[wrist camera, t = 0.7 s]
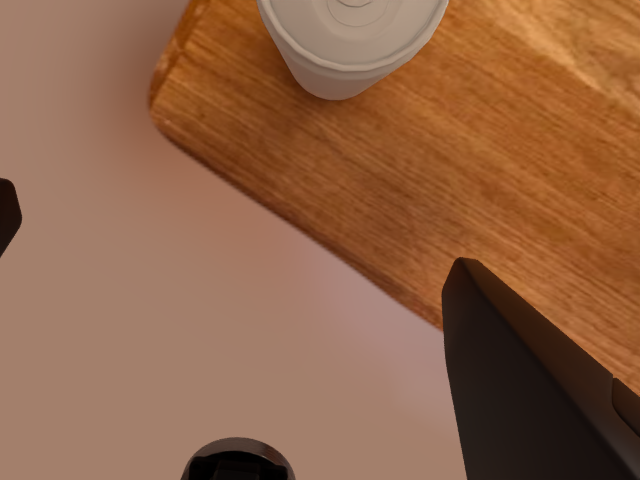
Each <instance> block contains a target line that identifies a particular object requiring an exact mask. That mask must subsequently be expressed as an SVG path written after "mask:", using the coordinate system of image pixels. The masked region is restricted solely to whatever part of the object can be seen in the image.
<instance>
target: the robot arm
mask: <svg viewBox="0 0 640 480" xmlns="http://www.w3.org/2000/svg"><path fill="white" fill-rule="evenodd" d="M21 222H22V214H21V210H20V206H19V202H18V198H17V194H16V190H15V187H14V185H13V183H12V182H11V181H9V180H7V179H3V178H0V257H1V256H2V254H3V253H4V251H5V250H6V248H7V246H8V245H9V243H10V242H11V240H12V239H13V237H14V236H15V234H16V232H17V231H18V229H19V228H20V225H21ZM442 314H443V331H444V346H445V359H446V366H447V373H448V378H449V382H450V388H451V394H452V400H453V405H454V410H455V415H456V421H457V426H458V432H459V437H460V443H461V448H462V454H463V459H464V464H465V470H466V475H467V480H640V397H639V396H638V395H636V394H635V393H634V392H633V391H632V390H630V389H629V388H628V387H627V386H626V385H625V384H623V383H622V382H621V381H620V380H619V379H618V378H613V375H612V373H610V372H609V371H608V370H607V369H606V368H604V367H603V366H602V365H601V364H600V363H599V362H597V361H596V360H595V359H594V358H593V357H591V356H590V355H589V354H588V353H587V352H586V351H584V350H583V349H582V348H581V347H580V346H578V345H577V344H576V343H575V342H574V341H573V340H571V339H570V338H569V337H568V336H567V335H565V334H564V333H563V332H562V331H561V330H560V329H558V328H557V327H556V326H555V325H554V324H552V323H551V322H550V321H549V320H548V319H547V318H545V317H544V316H543V315H542V314H541V313H540V312H538V311H537V310H536V309H535V308H534V307H532V306H531V305H530V304H529V303H528V302H527V301H525V300H524V299H523V298H522V297H521V296H519V295H518V294H517V293H516V292H515V291H514V290H512V289H511V288H510V287H509V286H508V285H506V284H505V283H504V282H503V281H502V280H501V279H499V278H498V277H497V276H496V275H495V274H493V273H492V272H491V271H490V270H489V269H488V268H486V267H485V266H484V265H483V264H482V263H480V262H479V261H478V260H475V259H469V258H463V257H459V258H457V259H456V260H455V261H454V263H453V265H452V268H451V270H450V272H449V275H448V277H447V279H446V282H445V284H444V286H443V290H442ZM196 464H199V466H198V465H196ZM278 473H283V474H282V475H280V474H278ZM287 479H288V469H287V468H286V467H285V466H282V465H274V464H265V463H257V462H248V461H239V460H230V459H221V458H212V457H203V456H196V457H193V459H192V460H191V463H190V466H189V478H188V480H287Z"/></svg>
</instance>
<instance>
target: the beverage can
mask: <svg viewBox="0 0 640 480" xmlns="http://www.w3.org/2000/svg"><path fill="white" fill-rule="evenodd" d="M256 2H257V5H258V8H259V12H260V15H261V18H262V21H263V23H264V25H265V26H266V28H267V30H268V32H269V33H270V35H271V37H272V39H273V41H274V42H275V44H276V46H277V48H278V50H279V51H280V53H281V55H282V57H283V59H284V60H285V62H286V64H287V66H288V68H289V69H290V71H291V73H292V74H293V76H294V78H295V80H296V81H297V82H298V83H299V84H300V85H301V86H302V87H303V88H304V89H305V90H306V91H308V92H309V93H311V94H313V95H315V96H316V97H319V98H323V99H327V100H344V99H347V98H351V97H354V96H356V95H358V94H359V93H361V92H363V91H364V90H366V89H367V88H369V87H370V86H372V85H373V84H375V83H376V82H378V81H379V80H381V79H382V78H384V77H385V76H387V75H388V74H390V73H391V72H393V71H394V70H396V69H397V68H399V67H400V66H402V65H403V64H405V63H406V62H408V61H409V60H411V59H412V58H413V57H414V56H415V55H416V53H417V52H418V51H419V50H420V49H421V48H422V47H423V46H424V45H425V44H426V43H427V42H428V41H429V40H430V38H431V37H432V35H433V33H434V31H435V29H436V28H437V26H438V24H439V22H440V21H441V19H442V17H443V15H444V13H445V9H446V7H447V5H448V2H449V0H256Z"/></svg>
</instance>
